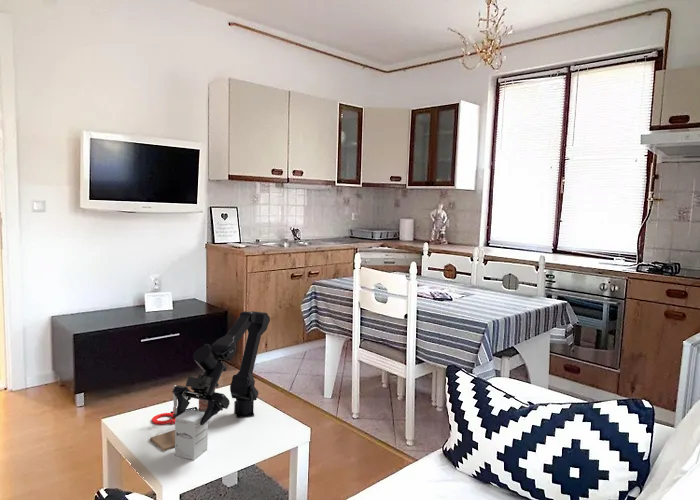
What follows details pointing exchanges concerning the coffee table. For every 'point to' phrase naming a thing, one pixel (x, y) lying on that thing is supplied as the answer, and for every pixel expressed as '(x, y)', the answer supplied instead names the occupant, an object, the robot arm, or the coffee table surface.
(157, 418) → the tow hook
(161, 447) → the walnut plate
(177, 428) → the supplement box
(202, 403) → the red-brown boxy piece
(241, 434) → the coffee table surface
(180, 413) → the robot arm
